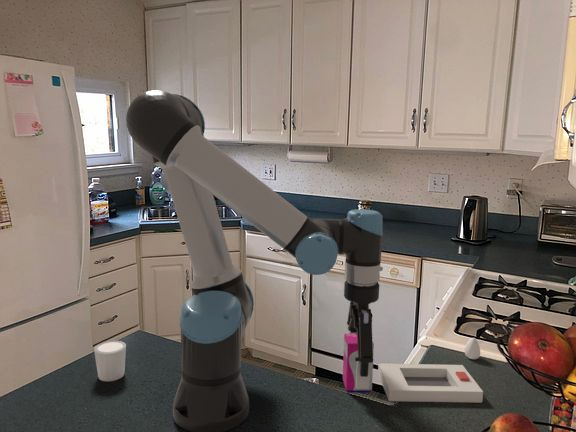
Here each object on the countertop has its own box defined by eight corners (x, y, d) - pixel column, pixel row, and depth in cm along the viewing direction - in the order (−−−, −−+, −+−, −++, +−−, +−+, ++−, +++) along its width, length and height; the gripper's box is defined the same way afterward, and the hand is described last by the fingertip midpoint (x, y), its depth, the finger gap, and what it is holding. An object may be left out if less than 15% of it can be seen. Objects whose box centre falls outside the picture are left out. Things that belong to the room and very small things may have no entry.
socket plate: (388, 401, 102) (389, 387, 101) (377, 373, 113) (378, 361, 113) (482, 402, 102) (483, 389, 101) (461, 374, 114) (462, 362, 113)
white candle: (133, 371, 112) (132, 343, 110) (112, 385, 105) (111, 355, 104) (110, 365, 114) (109, 338, 113) (88, 378, 108) (87, 349, 107)
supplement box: (366, 379, 110) (369, 332, 109) (372, 393, 105) (374, 344, 103) (341, 379, 110) (344, 332, 108) (345, 393, 104) (348, 343, 103)
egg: (474, 354, 125) (476, 334, 124) (482, 361, 121) (484, 340, 120) (461, 355, 124) (463, 335, 123) (468, 361, 121) (470, 341, 120)
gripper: (392, 301, 91) (385, 403, 95) (369, 266, 116) (364, 348, 119) (353, 300, 91) (348, 402, 95) (338, 265, 116) (334, 347, 119)
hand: (357, 372), depth 107 cm, fingers open, 13 cm apart
